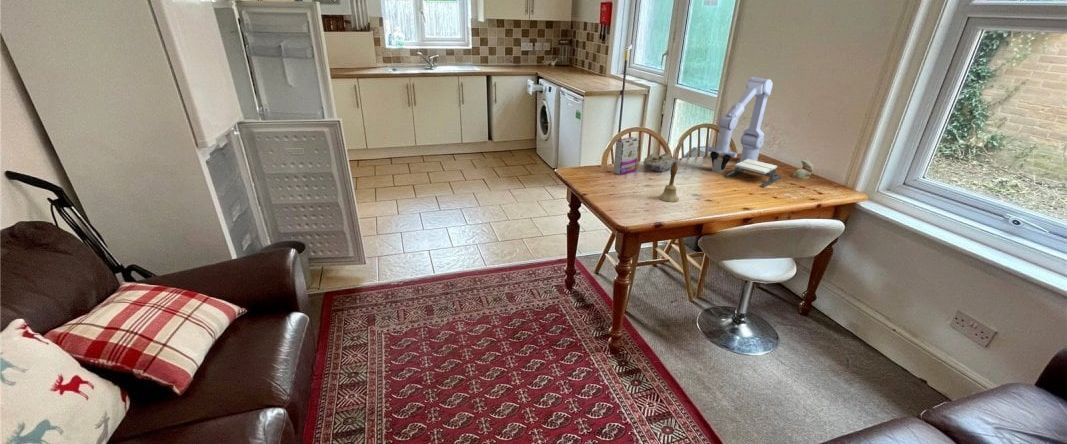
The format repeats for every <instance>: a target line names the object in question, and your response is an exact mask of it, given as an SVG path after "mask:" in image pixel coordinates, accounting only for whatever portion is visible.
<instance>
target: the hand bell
mask: <svg viewBox="0 0 1067 444" xmlns="http://www.w3.org/2000/svg"><path fill="white" fill-rule="evenodd" d="M677 162H678V161H677ZM677 162H674V163H673V165H672V167H671V169H670V170H669V171H670V179H669V183H668V184H666V185H665V186H664V189H663V192H662V193H661V194H660V195H659V196H658V198H659V200H661V201H663V202H665V203H666V202H667V203H676V202H679V200H680V197H678V195H677V187H676V186H675V185H674V183H675V178H676V175H677V173H678V163H677Z"/></svg>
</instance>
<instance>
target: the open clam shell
mask: <svg viewBox="0 0 1067 444" xmlns="http://www.w3.org/2000/svg"><path fill="white" fill-rule="evenodd" d="M800 162H801V164H802V167H801V168H798V169H797V170H795V171H794V173H793V174H792V175H791V177H792V178H795V179H801V180H808V179H810V176H811V175H812V174H813V171H814V168H815V165H814V164H812V163H811V161H810V160H809V158H807V157H805V158H804V159H802V160H801V161H800Z"/></svg>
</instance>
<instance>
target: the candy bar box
mask: <svg viewBox="0 0 1067 444" xmlns="http://www.w3.org/2000/svg"><path fill="white" fill-rule="evenodd" d="M615 141H616V142H615V149H614V159H613V170H612V171H613V173H614V174H615V173H616V175H618V176H623V175H625V174H629V173H634V172H636V170H637V161H638V151H639V143H640V138H637V137H634V136H630V137H625V138H619V139H616V140H615Z"/></svg>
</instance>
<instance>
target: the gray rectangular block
mask: <svg viewBox="0 0 1067 444" xmlns="http://www.w3.org/2000/svg"><path fill="white" fill-rule="evenodd" d="M722 161H723V158H719V157H718V158H717V159H714V163H713V167H712V168H711V171H712V172H714V173H717V174H720V173H723V172H724V170H725V168H724V169H723V170H721V167H722Z"/></svg>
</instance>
